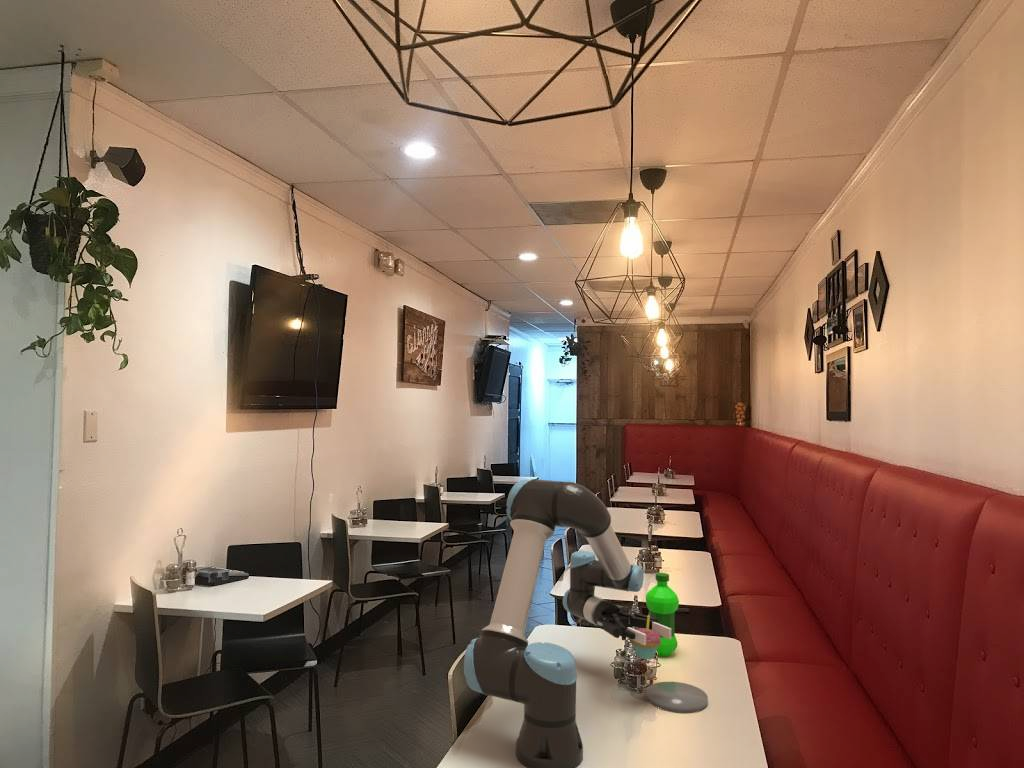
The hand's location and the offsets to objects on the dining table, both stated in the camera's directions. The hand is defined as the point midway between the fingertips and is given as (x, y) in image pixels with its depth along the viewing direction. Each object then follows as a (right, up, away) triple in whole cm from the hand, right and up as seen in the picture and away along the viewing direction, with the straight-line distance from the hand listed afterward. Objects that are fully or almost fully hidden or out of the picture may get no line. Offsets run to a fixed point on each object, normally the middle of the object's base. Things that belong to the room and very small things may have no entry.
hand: (657, 636), depth 179 cm
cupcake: (-3, -7, +4) cm, 8 cm away
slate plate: (+6, -18, +4) cm, 20 cm away
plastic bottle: (+9, -20, +38) cm, 43 cm away
